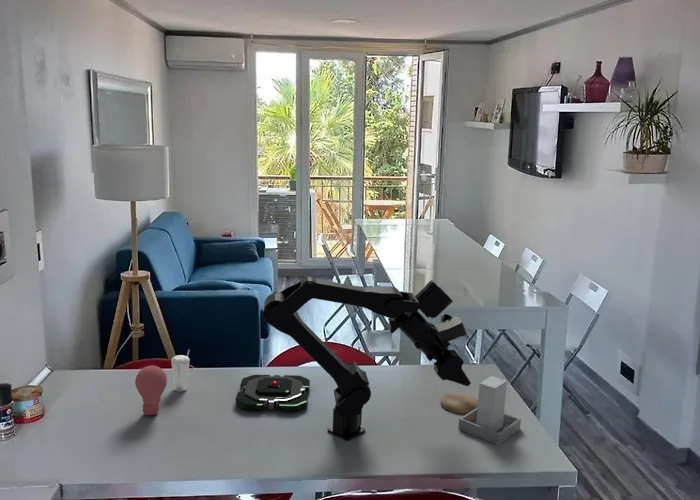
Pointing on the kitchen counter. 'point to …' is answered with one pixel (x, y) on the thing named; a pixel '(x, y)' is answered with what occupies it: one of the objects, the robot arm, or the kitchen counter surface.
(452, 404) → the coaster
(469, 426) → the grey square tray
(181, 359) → the milkshake
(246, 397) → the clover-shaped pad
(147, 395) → the light bulb
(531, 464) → the kitchen counter surface
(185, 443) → the kitchen counter surface
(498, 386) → the skincare box
